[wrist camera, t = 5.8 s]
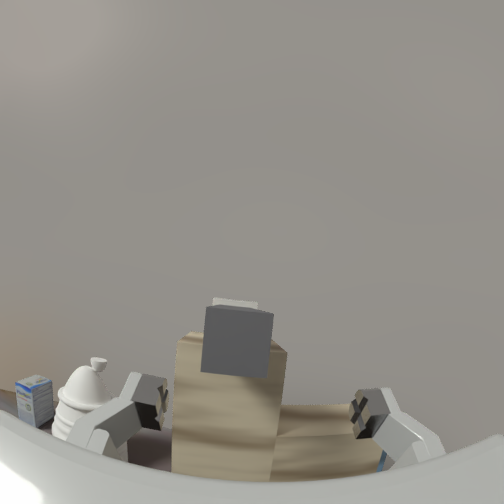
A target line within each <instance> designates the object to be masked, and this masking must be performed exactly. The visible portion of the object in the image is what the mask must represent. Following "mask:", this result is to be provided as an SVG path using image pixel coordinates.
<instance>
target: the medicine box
mask: <svg viewBox="0 0 504 504" xmlns="http://www.w3.org/2000/svg"><path fill="white" fill-rule="evenodd" d="M15 384H16V395H17V404H18V412H19V419H20V420H22V421H24V422H26V423H28V424H30V425H32V426H34V427H36V428H38V427H39V426H41V425H42V424H44V423H45V422H47V421H48V420H50V419H51V418H53V417H54V406H53V390H52V381H51V380H49V379H47V378H44V377H42V376H39V375H34V376H31V377H28V378H26V379H23V380H20V381H17V382H16V383H15Z"/></svg>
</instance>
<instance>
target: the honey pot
mask: <svg viewBox="0 0 504 504" xmlns="http://www.w3.org/2000/svg"><path fill="white" fill-rule="evenodd" d="M91 364H92V367H89V366H81V367H79V368H78V369H76V370H75V371H74V373H73V374H72V375H71V376H70V378H69V380H68V381H67V383H66V385H65V386H64V387H62V388H60V390H59V391H58V397H59V399H60V401H59V404H58V406H57V408H56V415H55V416H54V422H53V424H52V435H53V436H55V437H57V438H60V439H62V440H64V441H66V439H67V437H68V435H69V433H70V431H71V429H72V427H73V425H74V423H75V421H76V420H77V419H79V418H81V417H82V416H84V415H86V414H88V413H89V412H91V411H93V410H95V409H96V408H98V407H100V406H102V405H103V404H105V403H107V402H108V401H110V400H111V399H114V398H115V397H117V396H116V395H115V394H113V393H112V392H110V391H108V390H107V389H106V386H105V384H104V383H103V381H102V379H101V378H100V376H99V375H98V374H97V372H101V371H103V370H104V369H105V367H106V364H107V360H105V359H102V358H91ZM117 451H118V453H119V455H120V457H121V459H122V461H125V462H128V451H127V441H126V442H125V443H124V444H122V445H121V446H120V447H119V448H117Z"/></svg>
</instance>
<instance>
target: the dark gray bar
mask: <svg viewBox="0 0 504 504" xmlns="http://www.w3.org/2000/svg"><path fill="white" fill-rule="evenodd" d="M257 304H258V302H249V301H240V300H229V299H221V298H213V305H212V306H209V307H207V308H206V316H205V326H204V336H203V347H202V358H201V370H200V372H204V373H213V374H222V375H231V376H242V377H255V378H267V373H268V364H269V355H270V346H271V336H272V327H273V317H274V314H273V313H269V312H265V311H261V310H257Z"/></svg>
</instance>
